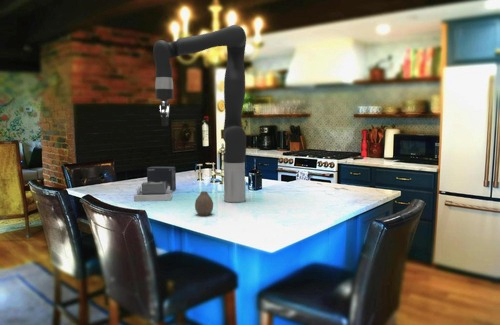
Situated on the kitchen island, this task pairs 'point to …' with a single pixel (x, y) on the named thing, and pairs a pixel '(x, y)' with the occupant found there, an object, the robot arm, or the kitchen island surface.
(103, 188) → the kitchen island surface
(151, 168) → the small box
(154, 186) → the block
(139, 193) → the tray
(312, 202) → the kitchen island surface
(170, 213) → the kitchen island surface
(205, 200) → the vase
